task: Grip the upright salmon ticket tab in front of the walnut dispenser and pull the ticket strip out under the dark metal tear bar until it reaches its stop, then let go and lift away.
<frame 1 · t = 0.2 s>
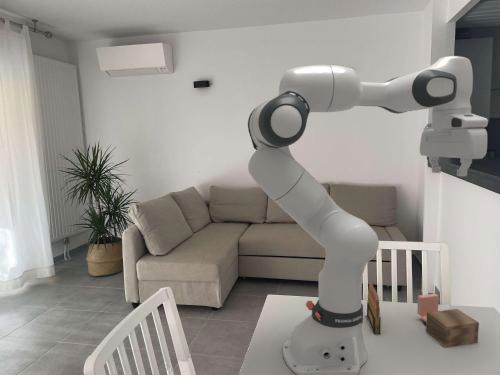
hand: (448, 174, 93), 47 cm above the table, fingers open, 8 cm apart
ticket: (441, 314, 103), point 5 cm above the table, slide at 0.0 cm
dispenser: (451, 336, 100), on the table
brown flat panel: (373, 325, 107), on the table
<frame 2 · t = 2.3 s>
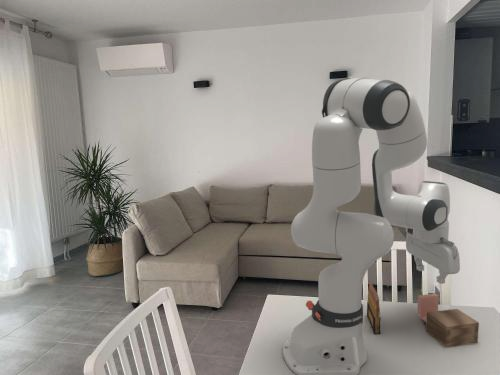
hand: (430, 276, 108), 14 cm above the table, fingers open, 8 cm apart
nothing on the table moved.
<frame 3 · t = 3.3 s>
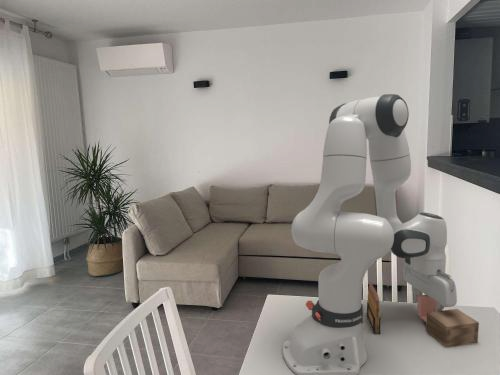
hand: (427, 306, 109), 4 cm above the table, fingers open, 8 cm apart
nothing on the table moved.
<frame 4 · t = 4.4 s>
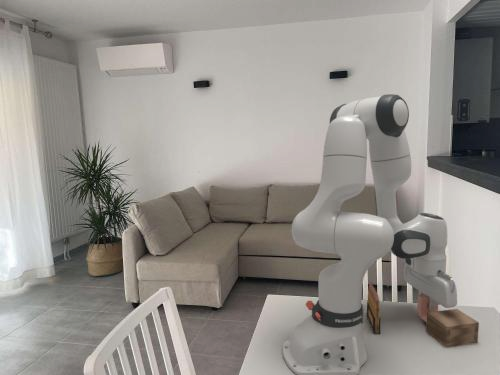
hand: (427, 307, 109), 4 cm above the table, fingers closed on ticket, 2 cm apart
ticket: (441, 314, 103), point 5 cm above the table, slide at 0.0 cm, touching gripper
everything else where it was.
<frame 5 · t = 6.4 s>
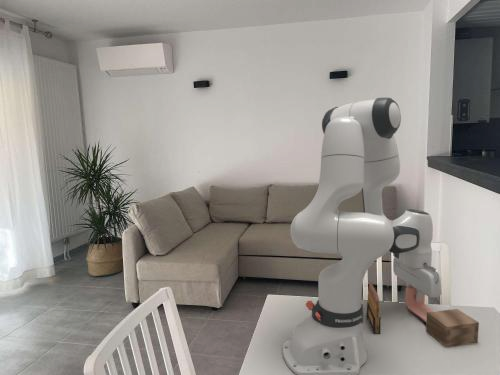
hand: (414, 298, 115), 4 cm above the table, fingers closed on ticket, 2 cm apart
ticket: (426, 304, 109), point 5 cm above the table, slide at 6.4 cm, touching gripper
everything else where it was.
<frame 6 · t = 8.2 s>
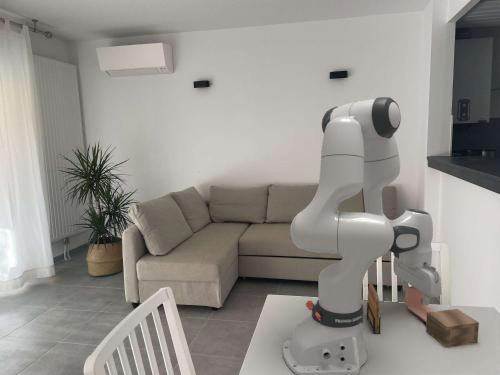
hand: (415, 298, 115), 4 cm above the table, fingers open, 8 cm apart
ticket: (426, 304, 109), point 5 cm above the table, slide at 6.4 cm
everything else where it was.
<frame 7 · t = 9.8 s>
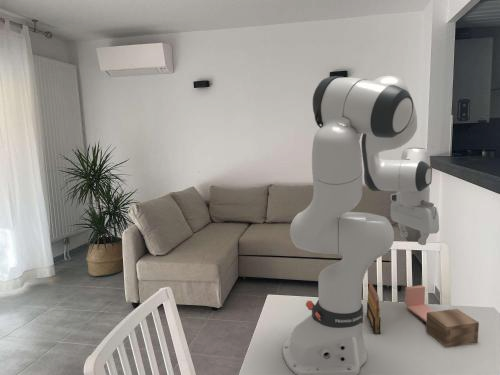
hand: (412, 240, 113), 24 cm above the table, fingers open, 8 cm apart
nothing on the table moved.
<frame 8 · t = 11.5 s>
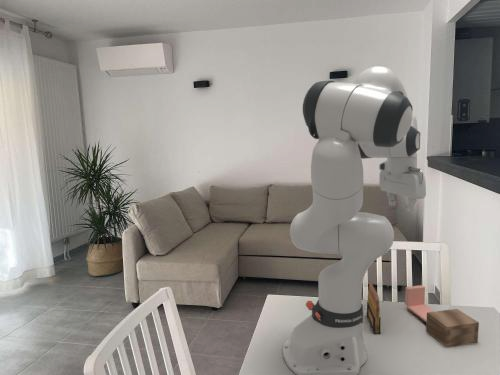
hand: (400, 208, 114), 34 cm above the table, fingers open, 8 cm apart
nothing on the table moved.
at the end: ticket slide at 6.4 cm; the gripper is holding nothing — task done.
